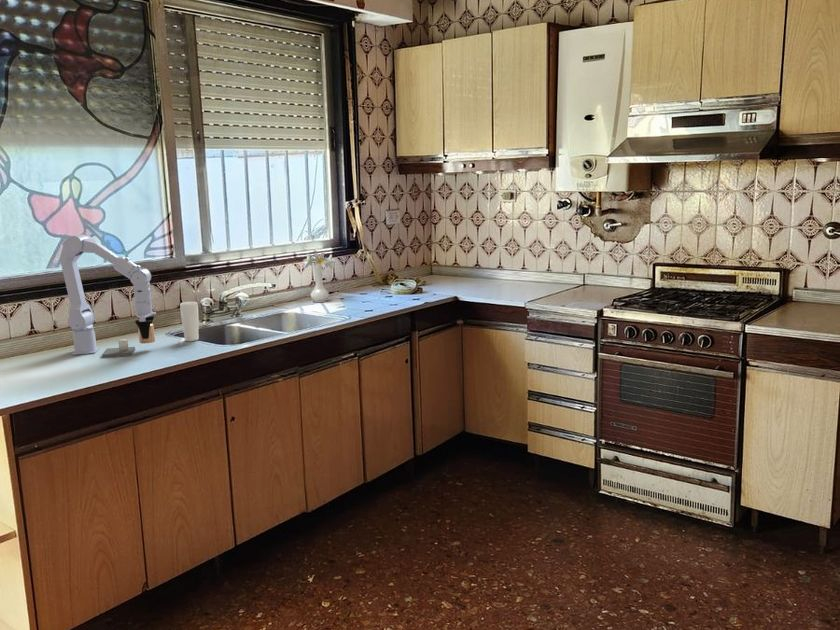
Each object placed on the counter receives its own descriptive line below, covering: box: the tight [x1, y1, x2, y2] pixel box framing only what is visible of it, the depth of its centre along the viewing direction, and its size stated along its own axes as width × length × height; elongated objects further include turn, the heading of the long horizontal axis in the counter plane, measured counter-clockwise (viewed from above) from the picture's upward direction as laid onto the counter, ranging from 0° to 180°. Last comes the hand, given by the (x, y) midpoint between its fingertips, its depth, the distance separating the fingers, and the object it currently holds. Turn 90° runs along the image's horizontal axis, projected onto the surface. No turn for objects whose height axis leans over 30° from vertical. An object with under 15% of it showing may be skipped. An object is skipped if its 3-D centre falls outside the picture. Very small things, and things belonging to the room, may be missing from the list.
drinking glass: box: [179, 301, 200, 342], centre depth 294 cm, size 7×7×15 cm
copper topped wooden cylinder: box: [137, 322, 156, 344], centre depth 278 cm, size 6×6×7 cm
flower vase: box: [302, 252, 337, 303], centre depth 376 cm, size 13×18×25 cm
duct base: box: [101, 338, 136, 358], centre depth 275 cm, size 10×10×5 cm
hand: (146, 337), depth 279 cm, fingers closed on copper topped wooden cylinder, 5 cm apart
